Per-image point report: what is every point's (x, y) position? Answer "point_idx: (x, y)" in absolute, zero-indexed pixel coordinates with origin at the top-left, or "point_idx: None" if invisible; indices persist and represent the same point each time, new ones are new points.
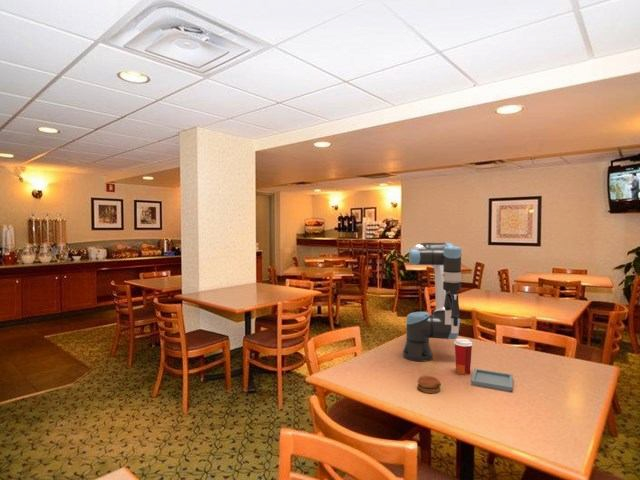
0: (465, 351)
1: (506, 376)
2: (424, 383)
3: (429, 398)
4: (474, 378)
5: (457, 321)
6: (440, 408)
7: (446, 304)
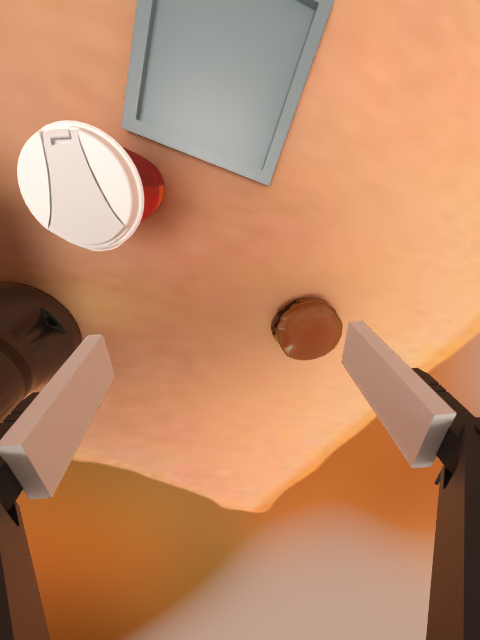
0: (145, 187)
1: None
2: (332, 348)
3: None
4: (246, 164)
5: (456, 401)
6: (419, 309)
7: (42, 626)
